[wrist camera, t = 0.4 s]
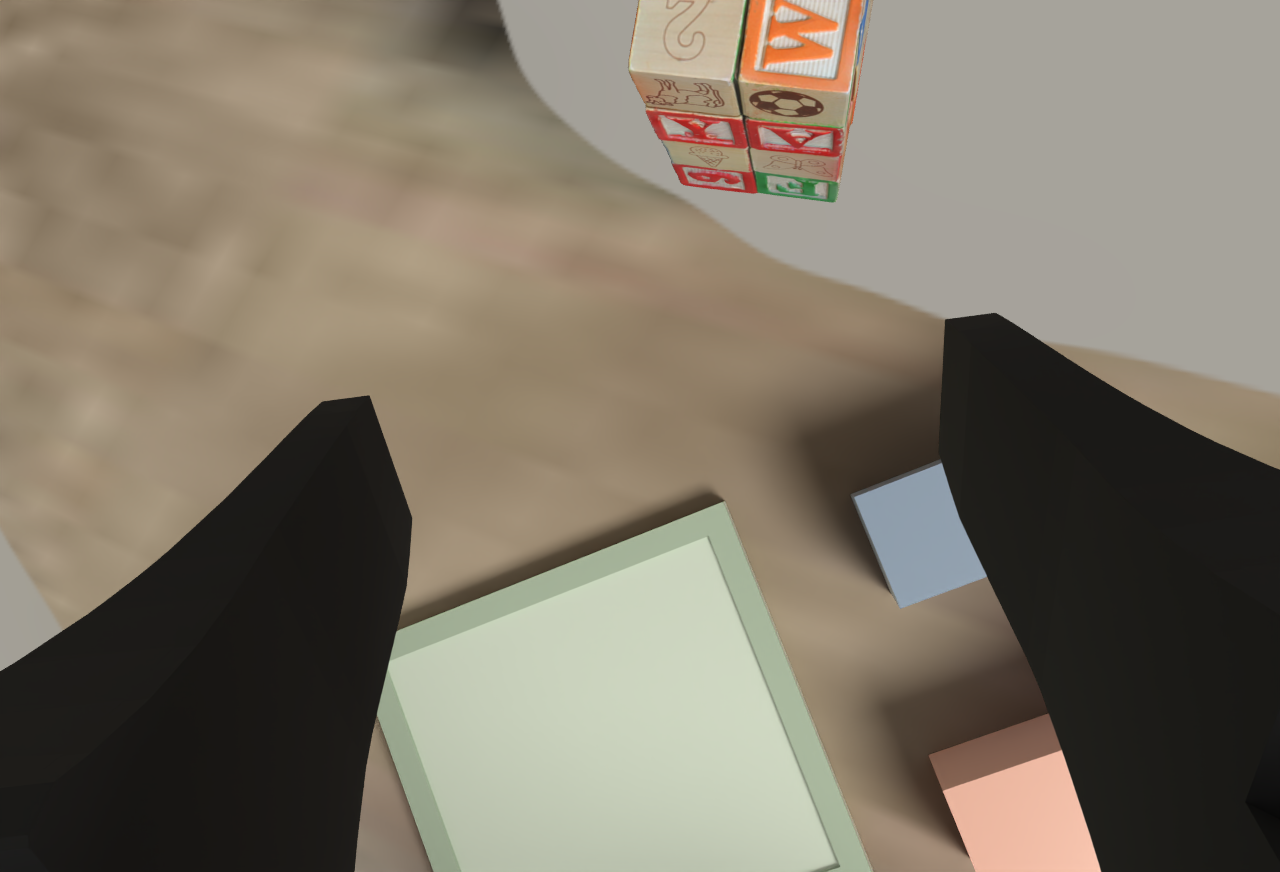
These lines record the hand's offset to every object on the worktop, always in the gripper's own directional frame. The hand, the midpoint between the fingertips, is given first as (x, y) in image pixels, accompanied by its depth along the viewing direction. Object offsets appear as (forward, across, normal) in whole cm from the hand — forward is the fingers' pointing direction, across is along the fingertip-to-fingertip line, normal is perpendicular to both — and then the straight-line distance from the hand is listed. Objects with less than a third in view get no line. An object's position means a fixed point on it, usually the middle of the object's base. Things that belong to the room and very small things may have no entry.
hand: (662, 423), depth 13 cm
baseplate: (+15, +4, +26) cm, 30 cm away
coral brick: (+12, -12, +26) cm, 31 cm away
